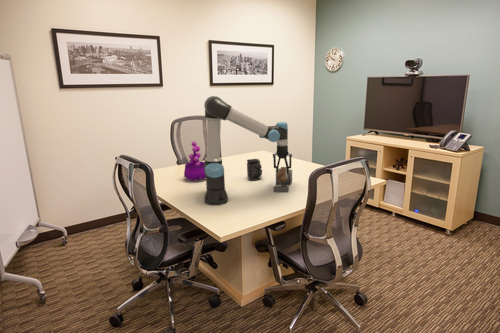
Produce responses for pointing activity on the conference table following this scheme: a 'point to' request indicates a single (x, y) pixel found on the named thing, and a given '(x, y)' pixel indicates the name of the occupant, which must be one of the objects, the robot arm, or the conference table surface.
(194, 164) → the decorative plant
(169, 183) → the conference table surface
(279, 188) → the rest block
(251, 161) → the camera
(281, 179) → the rail
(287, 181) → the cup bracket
